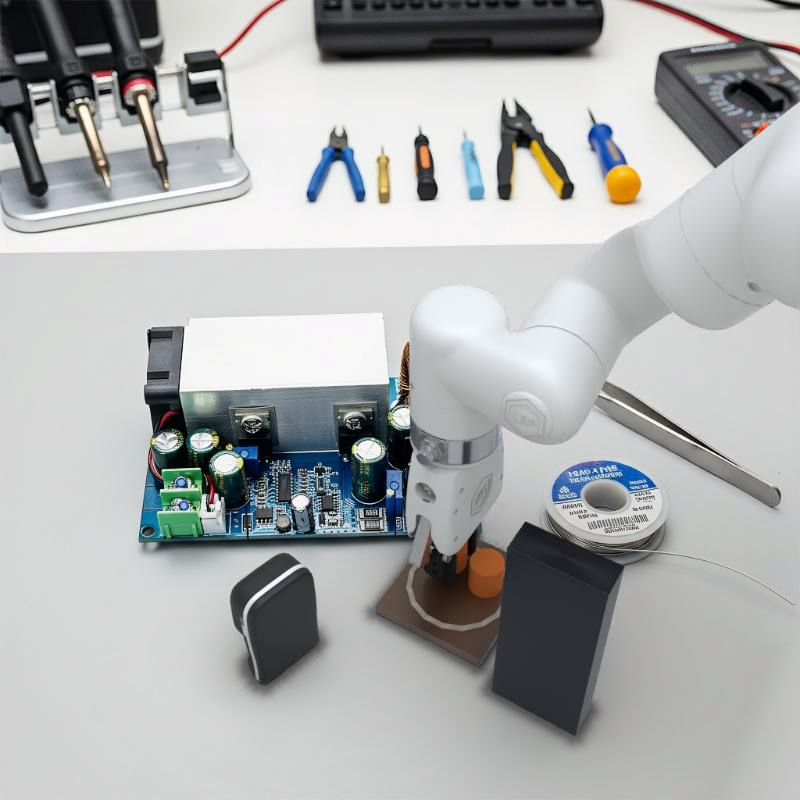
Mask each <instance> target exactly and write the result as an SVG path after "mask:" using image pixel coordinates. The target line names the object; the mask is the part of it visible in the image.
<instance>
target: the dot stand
mask: <svg viewBox="0 0 800 800" xmlns="http://www.w3.org/2000/svg"><path fill="white" fill-rule="evenodd" d="M506 552H507V554H506V563H505V573H504V582H503V591H502V600H501V609H500V618H499V628H498V637H497V640H496V647H495V655H494V665H493V673H492V674H493V675H492V684H491V692H493V693H494V694H497V695H498V696H500V697H502V698H504V699H505V700H507V701H509V702H511V703H513V704H515V705H517V706H518V707H521V708H522V709H524V710H526V711H528V712H530V713H532V714H534V715H535V716H537V717H539V718H541V719H542V720H544V721H546V722H548V723H550V724H551V725H553V726H555V727H558V728H560V729H561V730H563V731H565V732H567V733H569V734H571V735H573V736H577V734H578V733H579V730H580V728H581V727H582V725H583V722H584V721H585V719H586V717H587V715H588V713H589V712H590V709H591V707H592V702H593V698H594V695H595V690H596V687H597V681H598V677H599V673H600V669H601V665H602V662H603V657H604V653H605V649H606V645H607V640H608V637H609V633H610V629H611V625H612V620H613V616H614V612H615V608H616V604H617V599H618V596H619V591H620V588H621V584H622V579H623V575H624V571H625V568H626V567H625V565H623V564H621V563H620V562H617V561H615V560H612V559H610V558H608V557H606V556H603V555H602V554H599V553H597V552H595V551H592V550H590V549H588V548H586V547H584V546H582V545H580V544H577V543H575V542H572V541H570V540H568V539H567V538H564V537H562V536H559V535H557V534H555V533H553V532H550V531H548V530H546V529H544V528H542V527H539V526H537V525H535V524H533V523H531V522H529V521H527V520H525V521H524V522H523V524H522V525H521V526H520V528H519V529H518V531H517V532H516V534H515V535H514V537H513V538H512V540H511V541H510V542H509V544H508V546H507V547H506Z"/></svg>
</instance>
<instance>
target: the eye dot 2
mask: <svg viewBox="0 0 800 800" xmlns="http://www.w3.org/2000/svg"><path fill="white" fill-rule="evenodd" d="M504 565H505V562H504V558H503V556H502V555H501V554H500V553H499V552H498V551H496V550H494V549H490V548H482V549H479V550H477V551H475V552H474V553H473V554H472V555H471V557H470V564H469V578H468V586H469V589H470V591H471V592H472V593H473V594H474V595H476V596H477V597H480V598H492V597H495V596H496V595H498V594H499V593H500V591H501V589H502V584H503V574H504Z"/></svg>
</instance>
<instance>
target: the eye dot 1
mask: <svg viewBox="0 0 800 800" xmlns="http://www.w3.org/2000/svg"><path fill="white" fill-rule="evenodd" d="M467 547H468V540H467V541H466V543H465V544H464V545H463V547H462V548H461V549H460V550H459V551H458V552H457V553H455V554H456V555H457V568H456V574H459V573H460V572H462V571H463V570H464V569H465V567H466V564H467Z"/></svg>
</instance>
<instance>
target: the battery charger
mask: <svg viewBox="0 0 800 800" xmlns="http://www.w3.org/2000/svg"><path fill="white" fill-rule="evenodd" d="M317 604H318V603H317V593H316V586H315V579H314V576H313V573H312V572H311V570H310V568H309V567H308V566H306V565H305V564H304V563H301V562H300V561H299V560H298V559H297V558H296V557H295V556H293V555H292V554H290V553H289V552H288V553H287V552H281V553H277V554H276V555H274V556H272V557H270V558H269V559H268V560H266V561H264V562H263V563H262V564H261V565H259V566H258V567H256V568H255V569H254V570H252V571H251V572H250V573H248V574H246V576H244V577H243V578H242V579H240V580H239V581H238V582H237V583H235V585H234V586H233V587H232V589H231V592H230V596H229V605H230V611H231V612H230V613H231V617H232V621H233V624H234V627H235V629H236V630H237V631H238V632H239V633H240V634H241V635H242V636H243V638H244V643H245V647H246V650H247V653H248V658H247V666H248V668H249V670H250V672H251V673H252V675H253V676H254V677H255V679H256V680H257V681H258V682H260V683H262V684H263V685H267V684H268V683H270V682H271V681H272V680H274V679H275V678H276V677H277V676H279V675H280V674H281V673H283V672H284V671H285V670H286V669H288V668H289V667H290V666H292V664H294V663H295V662H296V661H297V660H299V659H300V658H301V657H303V656H304V655H305V654H306V653H307V652H309V651H310V650H312V648H313V647H315V646H316V645H317V644H318V643H319V642H320V635H319V634H320V633H319V625H318V607H317V606H318V605H317Z"/></svg>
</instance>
